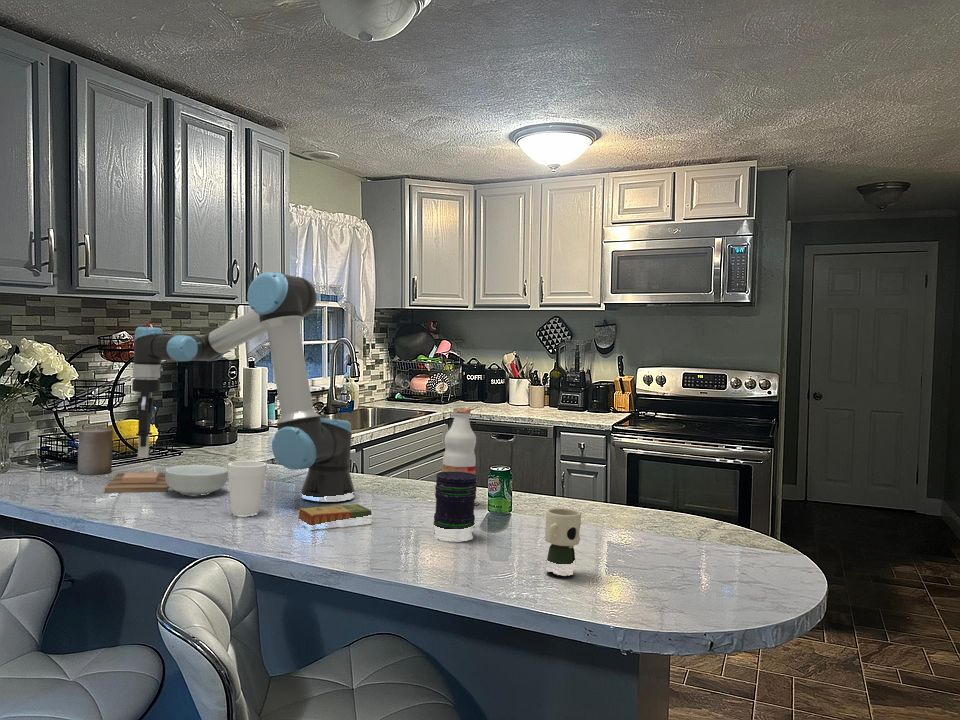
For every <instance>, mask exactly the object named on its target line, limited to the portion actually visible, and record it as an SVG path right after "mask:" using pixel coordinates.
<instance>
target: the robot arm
mask: <svg viewBox="0 0 960 720" xmlns="http://www.w3.org/2000/svg"><path fill="white" fill-rule="evenodd" d="M317 295H318V294H317V291H316V289H315V287H314V285H313V284H312V283H311V282H310V281H309V280H307V279H305V278H304V277H300V276H296V275H295V276H294V275H289V274H286V273H285V274H284V273H281V272H278V271H277V272H276V271H274V272H271V271H268V272H267V271H266V272H263V273H260V274H258V275H257V276H256V277H254V279H253V280H252V282H251V283H250V285H249V288H248V289H247V299H246V300H247V304H248V306H249V307H250V309H251V310H250V311H249V312H246V313H245V314H243V315H241V316H239V317H237V318H235V319H233V320H231V321H229V322H227V323H225V324H223V325H221V326H220V327H217V328H216V329H214V330H212V331H210V332H208V333H206V334H204V335H183V334H164V333H163V329H162V328H161V327H152V326H151V327H150V326H149V327H148V326H138V327H137V328H136V329H135V330H134V331H135V332H134V338H133V364H132V377H133V380H132V385H131V386H132V387H131V390H132V392H135V393H136V392H137V393H140V397H138V398H137V405H138V407H137V408H138V410H137V412H138V430H137V433H136V436H138V444H137V445H138V446H137V447H138V449H137V458H143V459H144V458H145V459H146V458H149V453H150V451H149V449H150V435H153V432H151V423H152V422H151V421H152V411H153V403H154V397H152V393H158V392H160V391H161V380H160V378H161V372H163V371H164V369H163V367H162V360H164V361H174V362H175V361H176V362H190V361H191V362H193V361H196V362H198V361H199V362H201V361H202V362H205V361H206V362H213V361H218V360H221V359H222V358H223V357H224V355H225V354H226V352H228V351H230V350H232V349H234V348H236V347H238V346H241V345H243V344H245V343H247V342H249V341H251V340H253V339H255V338H257V337H259V336H262V335H263V334H265V333H267V337H268V342H269V349H270V354H271V355H270V356H271V361H272V367H273V374H274V378H275V385H276V386H275V387H276V391H277V397H278V405H279V409H280V414H281V415H280V417H279V419H278V420H277V421H276V427H277V431H276V433H274V437H273V438H272V440H271V441H272V442H271V451H272V454H273V456H274V459H275V460H276V461H277V462H278V464H279V465H281V466H283V468H285V469H288V470H293V471H294V470H301V471H302V470H306V469H308V471H307V474H306V477H305V480H304V482H303V485H302V487H301V492H300V493H302V494H303V495H306V496H313V497H324V496H336V495H344V494H347V493H352V492H354V493H355V487H354V483H353V480H352V476H351V473H350V466H351V465H350V463H351V450H352V449H351V448H352V447H351V446H352V435H353V431H352V424H351V422H350V421H349V420H343V419H335V418H324V417H321V414H319V413H317V412H316V411H315V410H314V406H313V399H312V395H311V390H310V389H311V388H310V383H309V377H308V371H307V365H306V359H305V353H304V352H305V351H304V347H303V341H302V336H301V327H300V324H301V323H302V321H303V320H304V318H305V317H307V316H308V315H310V314H311V313H312V312H313V310H315V308H316V305H317V302H318V300H317V299H318V296H317Z"/></svg>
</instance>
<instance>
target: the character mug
mask: <svg viewBox="0 0 960 720" xmlns="http://www.w3.org/2000/svg"><path fill="white" fill-rule="evenodd" d="M581 525H582V512H580V511H579V510H576V509H572V508H565V507H552V508H548V509H546V513H545V528H544V529H545V530H544V532H545V533H544V540H545V542H547V543H548V544H550V546H549V548H548V553H547V558H546V561H547V560H548V561H550V562H553V563H556V564H571V563H573V561H574V560H575V561H576V556H575V554H576V553H575V548H574V546H577V545H579V544H580V541H581V537H580V531H581V530H580V529H581Z"/></svg>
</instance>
